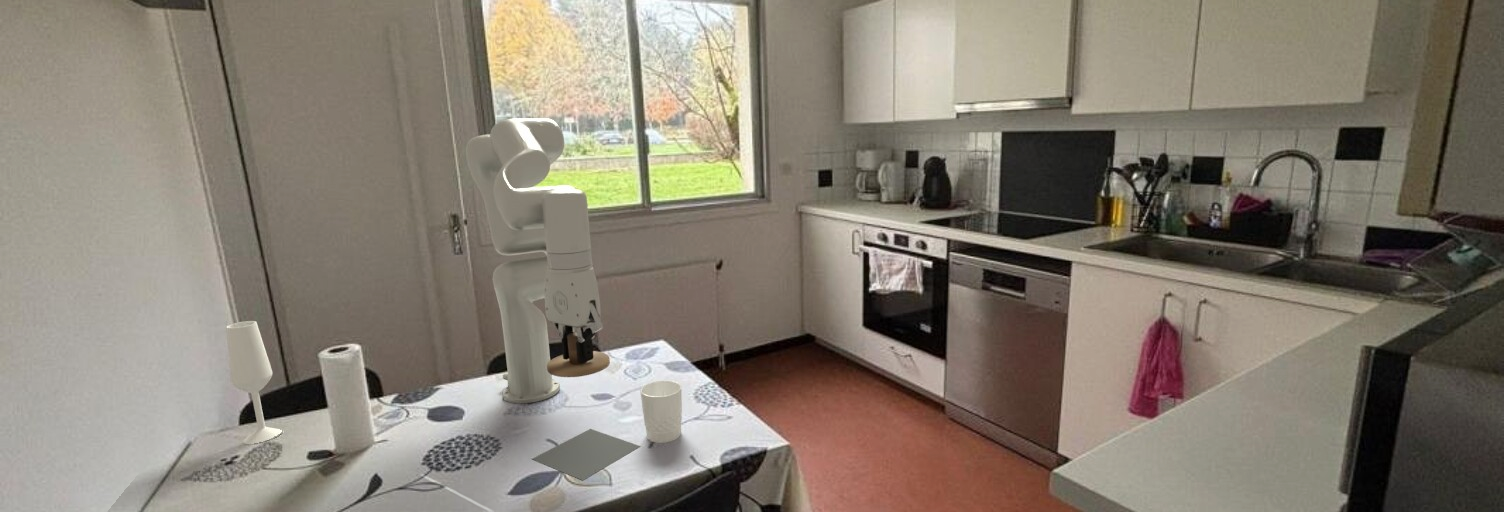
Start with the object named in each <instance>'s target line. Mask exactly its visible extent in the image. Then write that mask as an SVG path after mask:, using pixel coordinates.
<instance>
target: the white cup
mask: <svg viewBox="0 0 1504 512" xmlns="http://www.w3.org/2000/svg"><path fill="white" fill-rule="evenodd" d="M682 396H683V395H682V385H681V384H680V383H679V382H676V381H672V380H658V381H654V382H648V383H647V384H645V385H643V386H642V387H641V389H640V400H641V408H642V414H643V421H644V426H645V432H646V439H647V440H649V441H650V442H652V443H658V444H659V443H662V444H663V443H670V442H672V441H674V440H677V439H678V438H680V436H681V435H682V419H683V418H682V416H683V415H682V414H683V413H682V411H683V409H682V404H683V403H682V399H683V398H682Z"/></svg>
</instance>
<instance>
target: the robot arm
mask: <svg viewBox="0 0 1504 512" xmlns="http://www.w3.org/2000/svg"><path fill="white" fill-rule="evenodd" d="M564 150H565V137H564V132H563V130H562V129H561V127H560V125H559V124H558V123H557V122H556V121H554V120H553V119H550V118H548V117H547V118H545V117H544V118H542V117H540V118H536V117H532V118H530V117H529V118H508V119H502V120H500V121H498V122H497V123H495V124H494V125H493V126H492V128H491V130H490V133H489V134H482V135H478V136H474V137H472V138H470V139H469V140H468V141H467V143H466V146H465V157H466V158H465V159H466V162H467V163H466V164H467V166H468V167H467V168H468V170H469V172H470V175H471V177H472V179H473V181H474V183H475V184H476V186H477V188H478V189H479V192H480V194H481V196H482V198H483V202H484V206H485V213H486V217H487V223H488V227H489V228H488V229H489V232H490V238H491V241H492V245H493V248H494V249H495V251H496V252H497V253H498V254H499V255H502V256H518V255H525V254H526V255H527V254H534V253H540V252H541V253H544V254H545V256H540V257H539V256H538V257H531V258H530V257H529V258H524V259H523V258H521V259H515V260H510V261H509V260H508V261H505V262H504V263H501V264H499V265H498V266H497V267H495V269H494V271H493V274H492V284H493V289H494V291H495V296H496V299H497V303H498V307H499V311H500V319H501V326H502V333H503V341H504V349H505V351H504V353H505V360H506V368H507V373H504V374H503V375H502V379H503V380H506V381H507V386H506V387H505V388H504V390H503V391H502V397H503V400H505V401H506V402H509V403H513V404H530V403H535V402H536V403H537V402H539V401H543V400H546V399H548V398H552V397H553V396H555V395H556V394H557V393H559V392H560V389H561V388H560V387H561V386H560V382H559V381H558V380H556V379H553V375H551V374H550V373H549V372H548V371H547V364H548V362H549V361H550V360H551V356H550V355H551V354H550V345H549V344H550V343H549V335H548V334H549V333H548V325H547V320H548V322H549V321H550V322H551V323H553V324H554V325H555V328H556V329H557V330H558V336H559V338H560V339H561V340H560V341H561V349H562V355H563V359H566V360H567V359H569V351H568V340H567V335H569V334H571V333H577V336H578V342H576V349H577V361H578V363H580V364H582V363H584V362H587V361H589V360H592V359H593V351H594V347H593V346H594V345H593V339H594V338H595V335H596V334H597V333H598V332H599V331H601V330H603V328H604V324H603V323H602V321H601V313H602V312H601V301H600V293H599V287H598V286H599V285H598V282H597V276H596V274H595V270H594V267H593V259H592V245H591V234H590V233H591V232H590V220H589V219H590V218H589V208H588V199H587V194H586V192H584V191H583V190H581V189H577V188H576V187H574V186H572V185H567V184H566V185H552V186H551V185H550V186H548V185H547V186H546V185H545V186H537V185H538V184H540V183H542V182H543V181H544V180H545V179H546V178H547V176H548V175H549V173H550V170H551V169H550V168H551V165H552V164H553V163H554V162H556V161H557V160H558V159H559V158H560V157H561V155H562V154H563V152H564ZM542 299H544V306H545V309H544V310H545V314H544V313H543V311H542V310H541V309H540V308H538V307H537V306H536V305H535V304H534V301H538V300H542ZM584 328H585V330H584Z"/></svg>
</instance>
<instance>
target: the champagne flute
mask: <svg viewBox="0 0 1504 512" xmlns="http://www.w3.org/2000/svg"><path fill="white" fill-rule="evenodd" d="M259 328H260V327H259V326H258V322H257V320H256V321H255V320H247V321H239V322H236V323H232V324H229V325H227V326H226V340H227V351H228V352H227V354H228V364H229V377H230V383H231V385H233V386H234V387H235V388H236V389H238V390H241V391H243V392H245V393H248V394H251V399H252V403H253V409H254V412H255V414H254V415H255V418H256V424H257V429H256V430H255V431H253V432H252V433H251V434H249V435H248V436H246V437H245V438H244V439H243V440H242V442H243V444H245V445H255V444H254V443H258V444H260V443H259V442H263V441H265V440H269V439H271V438H273V437H274V436H277V435H278V434H280V433H281V432H282V430H283V429H281V430H280V429H279V428H275V427H268V426H266V423H265V418H264V413H263V409H262V408H263V407H262V403H261V396H260V391H261V390H263V389H264V387H265V386H266V385H268V383H269V382H270V380H271V378H272V377H273V370H272V365H271V362H270V359H269V357H268V355H267V354H268V353H267V351H266V348H265V345H264V341H263V338H262V335H261V334H262V333H261V332H260V329H259ZM263 443H264V442H263Z"/></svg>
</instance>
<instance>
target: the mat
mask: <svg viewBox="0 0 1504 512" xmlns="http://www.w3.org/2000/svg"><path fill="white" fill-rule="evenodd" d="M639 448H641V445H639V444H635V443H632V442H629V441H627V440H624V439H621V438H618V437H616V436H613V435H609V434H607V433H603V432H601V431H598V430H595V429H592V428H589V429H587V430H585V431H584V432H581V433H580V434H578V435H576V436H573V437H571V438H570V439H568V440H566V441H564V442H562V443H560V444H557V445H556V446H554V447H552V448H550V449H549V450H546V451H544V452H543V453H540V454H538V455H536V456H534V457H533V458H531V460H533V461H535V462H538V463H539V464H542V465H544V466H547V467H549V468H552V469H554V470H557V471H559V472H561V473H564V474H566V475H568V476H571V477H573V478H576V479H578V480H580V481H585V480H587V479H588V478H591V477H592V476H593V475H595V474H597V473H598V472H601V470H603V469H605V468H607V467H608V466H610V465H611V464H614V463H615V462H617V461H618V460H620V459H622V458H623V457H624V458H625V456H627V455H629V454H630V453H632V452H634V451H636V450H637V449H639Z"/></svg>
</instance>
